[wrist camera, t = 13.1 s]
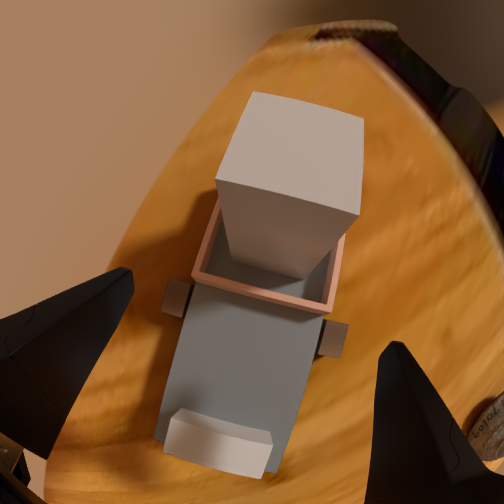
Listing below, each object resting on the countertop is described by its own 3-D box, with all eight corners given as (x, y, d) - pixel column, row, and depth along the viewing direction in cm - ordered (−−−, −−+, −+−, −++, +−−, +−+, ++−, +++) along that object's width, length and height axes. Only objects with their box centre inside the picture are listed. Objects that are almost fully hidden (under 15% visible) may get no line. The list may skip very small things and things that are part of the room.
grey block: (303, 280, 18) (359, 215, 9) (232, 261, 18) (214, 178, 9) (317, 215, 20) (363, 118, 10) (251, 198, 20) (253, 91, 10)
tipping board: (275, 467, 15) (279, 490, 11) (157, 434, 15) (139, 451, 12) (340, 204, 21) (354, 181, 18) (235, 177, 22) (233, 150, 18)
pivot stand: (330, 353, 19) (339, 358, 17) (170, 310, 20) (160, 310, 17) (338, 323, 19) (348, 324, 17) (179, 281, 20) (169, 277, 18)
